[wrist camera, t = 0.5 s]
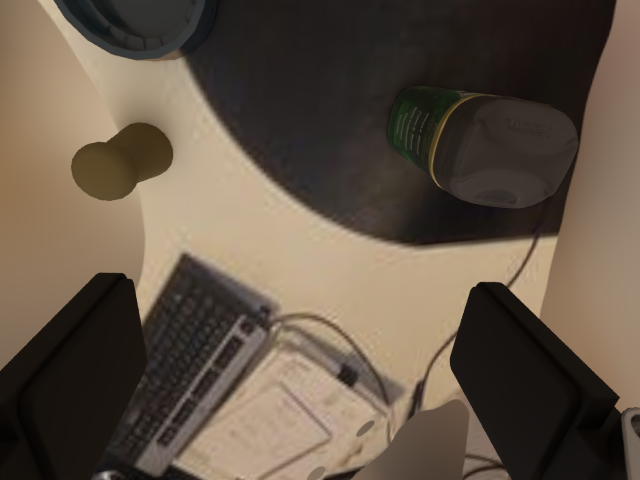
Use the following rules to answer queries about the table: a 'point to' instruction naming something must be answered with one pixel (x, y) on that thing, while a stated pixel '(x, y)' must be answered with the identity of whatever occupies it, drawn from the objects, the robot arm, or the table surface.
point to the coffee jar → (484, 144)
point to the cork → (122, 161)
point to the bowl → (142, 25)
